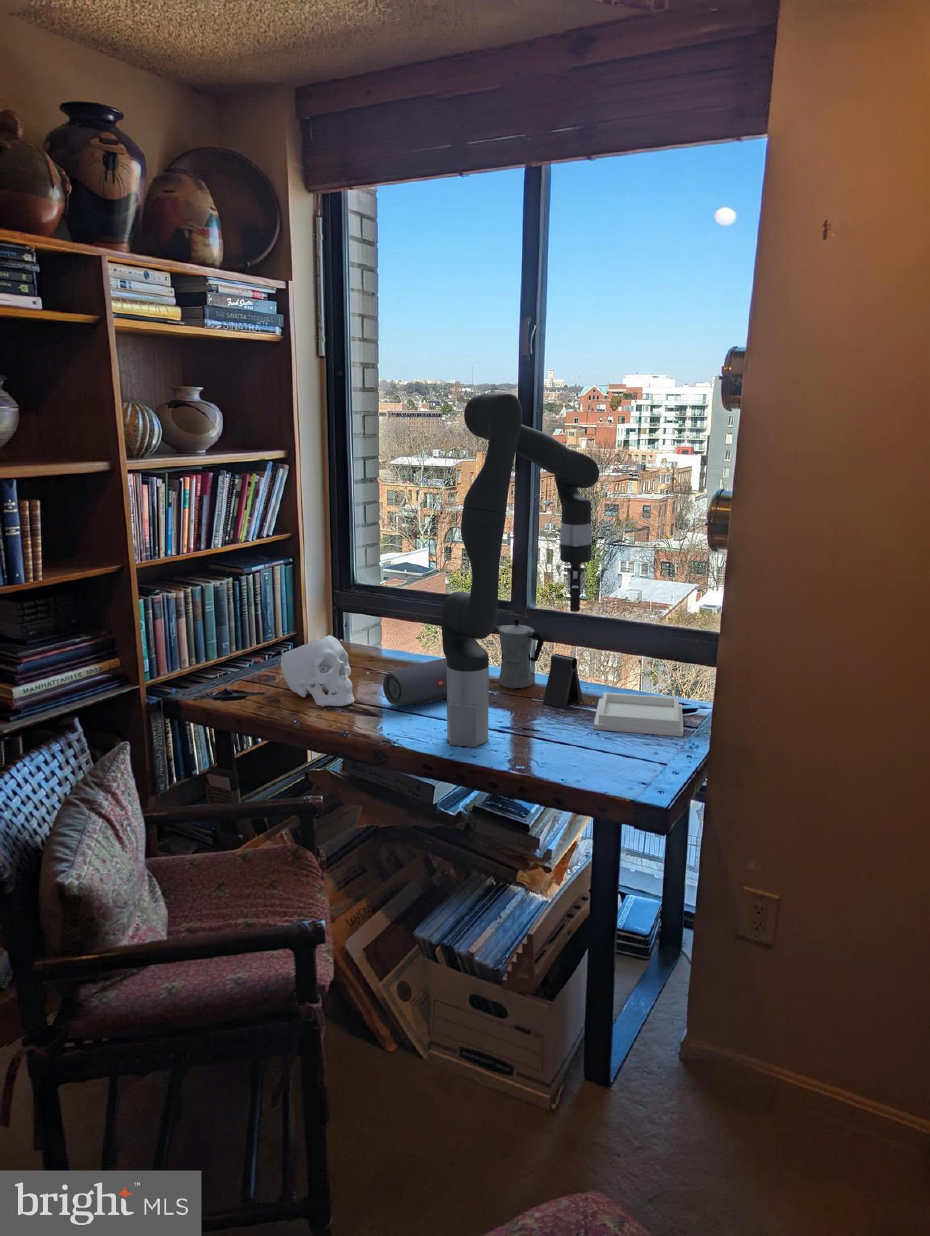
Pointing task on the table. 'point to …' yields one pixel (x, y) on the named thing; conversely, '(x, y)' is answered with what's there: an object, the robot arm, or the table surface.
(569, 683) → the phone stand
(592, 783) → the table surface
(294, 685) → the skull planter
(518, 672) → the coffeepot
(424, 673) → the bluetooth speaker
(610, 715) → the shallow square tray
